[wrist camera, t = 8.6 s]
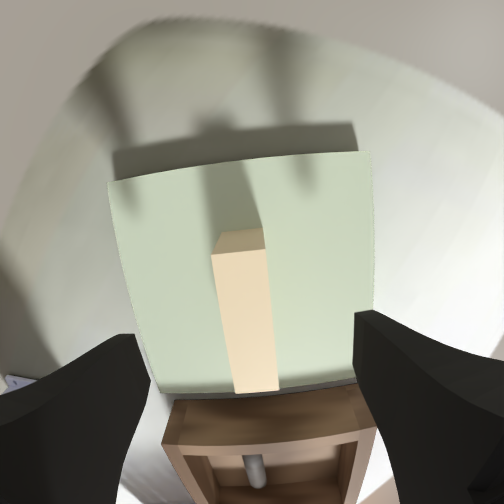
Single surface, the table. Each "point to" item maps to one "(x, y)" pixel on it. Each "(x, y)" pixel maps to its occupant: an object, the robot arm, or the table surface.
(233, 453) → the wooden open box
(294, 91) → the table surface
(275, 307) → the lid
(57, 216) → the table surface
